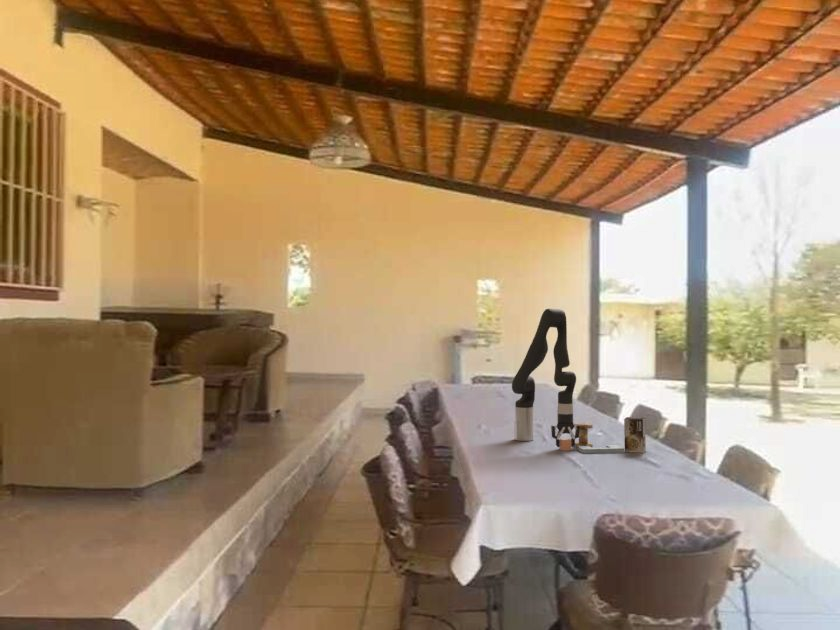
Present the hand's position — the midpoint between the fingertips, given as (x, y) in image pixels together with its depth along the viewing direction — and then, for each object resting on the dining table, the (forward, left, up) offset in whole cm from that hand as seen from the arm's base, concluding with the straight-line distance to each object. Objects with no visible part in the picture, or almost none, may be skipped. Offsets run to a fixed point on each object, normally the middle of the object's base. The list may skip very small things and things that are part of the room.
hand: (565, 446), depth 424 cm
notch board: (+15, -8, -1) cm, 17 cm away
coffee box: (+31, -11, -1) cm, 33 cm away
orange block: (0, 0, -1) cm, 1 cm away
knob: (+11, +7, -1) cm, 13 cm away
